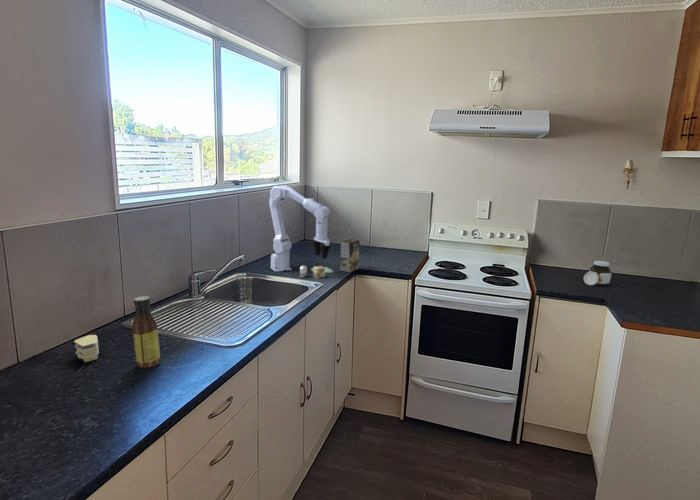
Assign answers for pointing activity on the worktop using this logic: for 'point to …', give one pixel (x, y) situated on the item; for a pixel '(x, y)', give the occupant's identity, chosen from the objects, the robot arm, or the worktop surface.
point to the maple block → (318, 272)
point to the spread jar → (598, 274)
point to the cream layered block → (87, 348)
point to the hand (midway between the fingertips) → (321, 256)
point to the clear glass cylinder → (303, 271)
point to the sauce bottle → (145, 334)
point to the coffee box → (349, 255)
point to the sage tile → (326, 270)
